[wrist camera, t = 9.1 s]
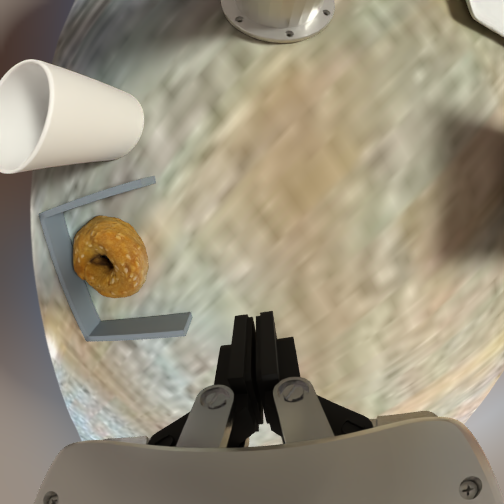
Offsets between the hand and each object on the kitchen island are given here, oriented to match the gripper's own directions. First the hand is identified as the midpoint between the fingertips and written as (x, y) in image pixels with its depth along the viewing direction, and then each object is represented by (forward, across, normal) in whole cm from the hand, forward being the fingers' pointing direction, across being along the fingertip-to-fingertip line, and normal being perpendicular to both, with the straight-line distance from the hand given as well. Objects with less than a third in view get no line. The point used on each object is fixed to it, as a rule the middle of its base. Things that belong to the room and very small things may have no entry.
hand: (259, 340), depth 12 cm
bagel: (+20, +18, 0) cm, 27 cm away
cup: (+20, +14, -15) cm, 29 cm away
